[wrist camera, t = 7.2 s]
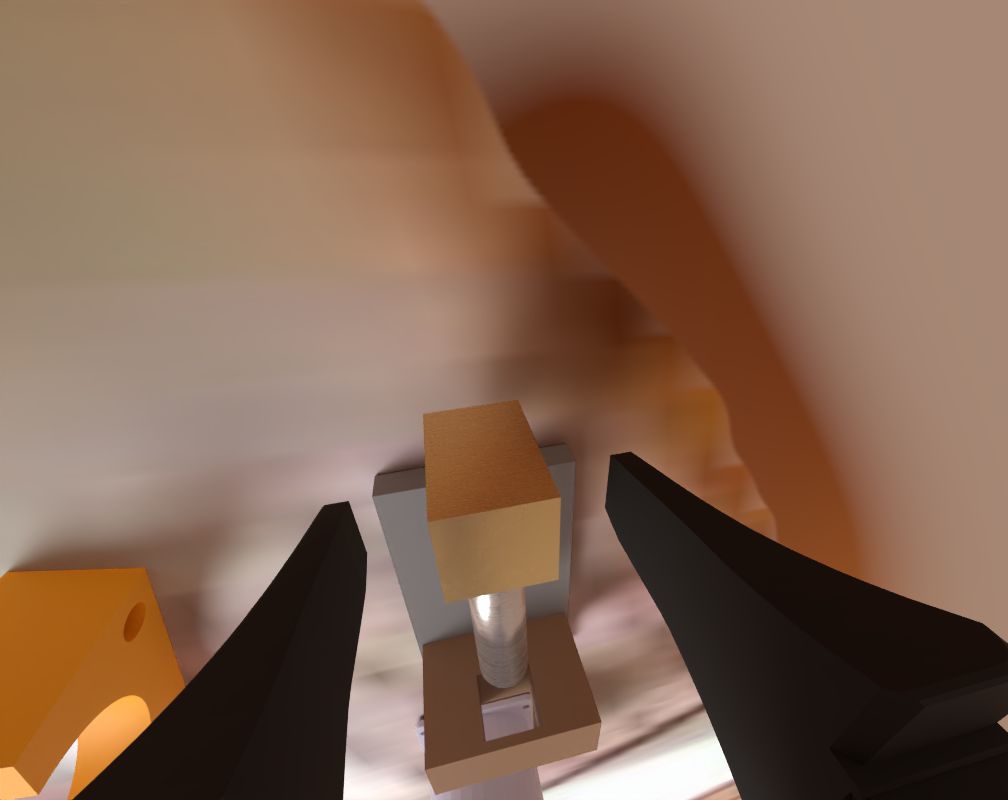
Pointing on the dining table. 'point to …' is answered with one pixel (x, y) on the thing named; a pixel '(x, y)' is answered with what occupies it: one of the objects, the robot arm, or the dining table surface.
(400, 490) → the eye block
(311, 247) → the dining table surface
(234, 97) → the dining table surface
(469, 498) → the pin
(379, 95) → the dining table surface
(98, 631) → the pipe clamp
